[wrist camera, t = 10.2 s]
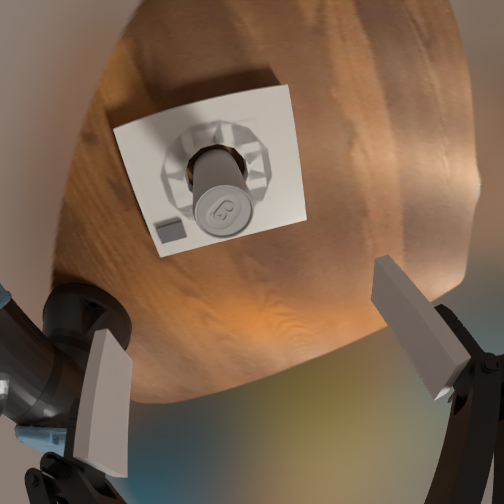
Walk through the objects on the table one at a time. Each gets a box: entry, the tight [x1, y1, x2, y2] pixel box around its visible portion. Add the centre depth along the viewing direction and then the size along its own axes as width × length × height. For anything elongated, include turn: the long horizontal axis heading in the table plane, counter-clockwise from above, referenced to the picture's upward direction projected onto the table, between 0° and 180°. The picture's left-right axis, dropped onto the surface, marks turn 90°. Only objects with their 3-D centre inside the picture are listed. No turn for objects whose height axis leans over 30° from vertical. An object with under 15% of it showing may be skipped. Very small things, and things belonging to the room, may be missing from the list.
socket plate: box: [113, 84, 307, 257], centre depth 31 cm, size 18×16×3 cm
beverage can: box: [193, 149, 254, 239], centre depth 27 cm, size 5×5×12 cm
